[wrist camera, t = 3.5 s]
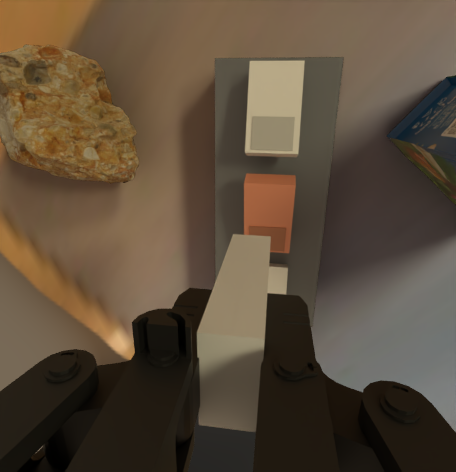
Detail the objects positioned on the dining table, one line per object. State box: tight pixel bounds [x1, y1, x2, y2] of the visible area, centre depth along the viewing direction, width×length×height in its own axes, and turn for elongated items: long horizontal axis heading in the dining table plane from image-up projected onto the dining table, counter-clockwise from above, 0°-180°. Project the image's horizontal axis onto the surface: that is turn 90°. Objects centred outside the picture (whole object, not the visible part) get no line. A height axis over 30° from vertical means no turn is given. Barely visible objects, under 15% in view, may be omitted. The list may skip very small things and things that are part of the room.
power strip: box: [215, 57, 344, 327], centre depth 31 cm, size 27×9×6 cm, turn 179°
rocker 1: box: [245, 61, 305, 157], centre depth 24 cm, size 6×4×2 cm, turn 179°
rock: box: [0, 45, 139, 184], centre depth 28 cm, size 12×10×10 cm
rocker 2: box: [244, 173, 296, 253], centre depth 26 cm, size 6×4×2 cm, turn 0°
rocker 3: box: [268, 263, 288, 295], centre depth 29 cm, size 6×4×2 cm, turn 179°
